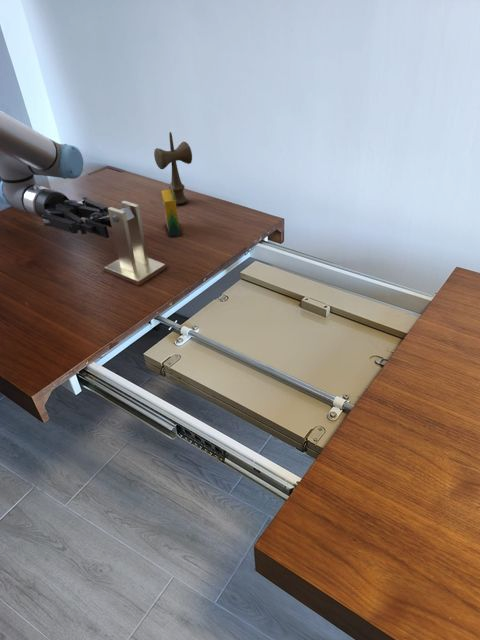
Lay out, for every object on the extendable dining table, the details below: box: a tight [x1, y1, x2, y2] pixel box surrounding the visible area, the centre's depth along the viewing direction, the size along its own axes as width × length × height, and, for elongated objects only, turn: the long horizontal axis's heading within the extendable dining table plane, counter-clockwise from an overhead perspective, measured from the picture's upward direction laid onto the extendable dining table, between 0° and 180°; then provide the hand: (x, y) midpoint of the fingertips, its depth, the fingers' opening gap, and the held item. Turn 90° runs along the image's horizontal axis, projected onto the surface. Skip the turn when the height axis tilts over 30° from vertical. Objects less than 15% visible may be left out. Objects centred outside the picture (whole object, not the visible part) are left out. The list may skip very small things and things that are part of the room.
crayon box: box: [161, 182, 181, 238], centre depth 124 cm, size 7×3×12 cm, turn 15°
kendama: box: [153, 131, 193, 206], centre depth 135 cm, size 6×10×20 cm, turn 126°
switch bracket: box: [103, 200, 167, 286], centre depth 107 cm, size 11×9×16 cm
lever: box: [89, 207, 134, 226], centre depth 106 cm, size 14×4×4 cm, turn 57°
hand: (113, 228), depth 108 cm, fingers closed on lever, 4 cm apart
